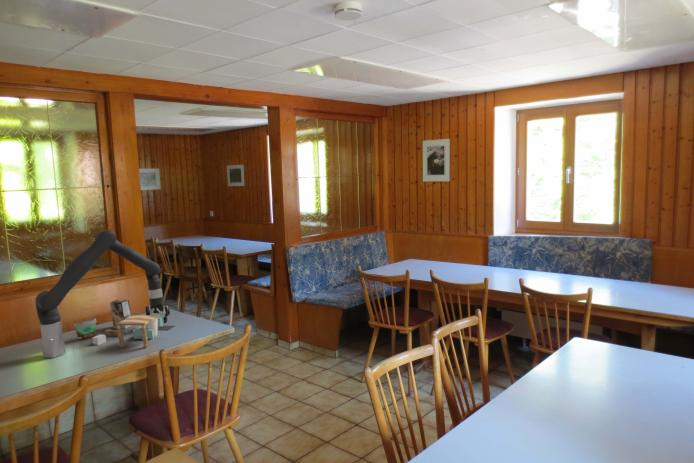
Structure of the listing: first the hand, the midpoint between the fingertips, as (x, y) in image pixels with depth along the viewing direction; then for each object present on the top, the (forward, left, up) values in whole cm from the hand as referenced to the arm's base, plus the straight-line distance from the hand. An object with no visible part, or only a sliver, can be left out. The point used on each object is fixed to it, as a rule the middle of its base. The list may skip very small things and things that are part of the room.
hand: (158, 322), depth 293 cm
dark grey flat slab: (-3, -6, -2) cm, 8 cm away
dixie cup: (-16, -6, -2) cm, 17 cm away
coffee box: (-1, +24, -2) cm, 24 cm away
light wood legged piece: (-27, -6, -2) cm, 28 cm away
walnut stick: (-15, +19, -2) cm, 24 cm away
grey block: (-28, +19, -2) cm, 34 cm away
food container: (-20, +32, -2) cm, 37 cm away
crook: (-10, -4, -2) cm, 11 cm away
